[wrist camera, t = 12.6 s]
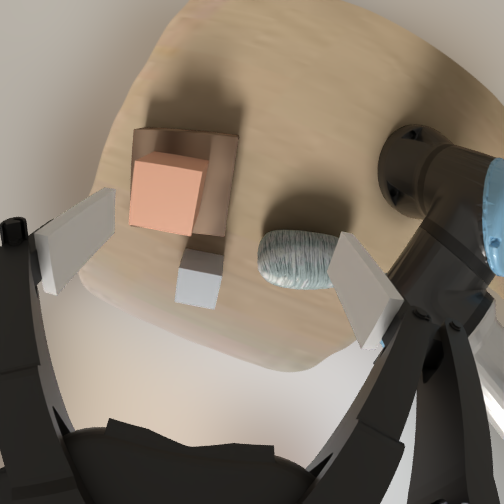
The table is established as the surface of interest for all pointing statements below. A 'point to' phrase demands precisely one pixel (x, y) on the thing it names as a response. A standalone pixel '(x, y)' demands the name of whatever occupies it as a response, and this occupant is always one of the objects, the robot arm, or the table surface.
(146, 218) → the terracotta cube
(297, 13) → the table surface
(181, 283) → the grey cube
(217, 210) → the walnut block
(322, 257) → the yarn skein
